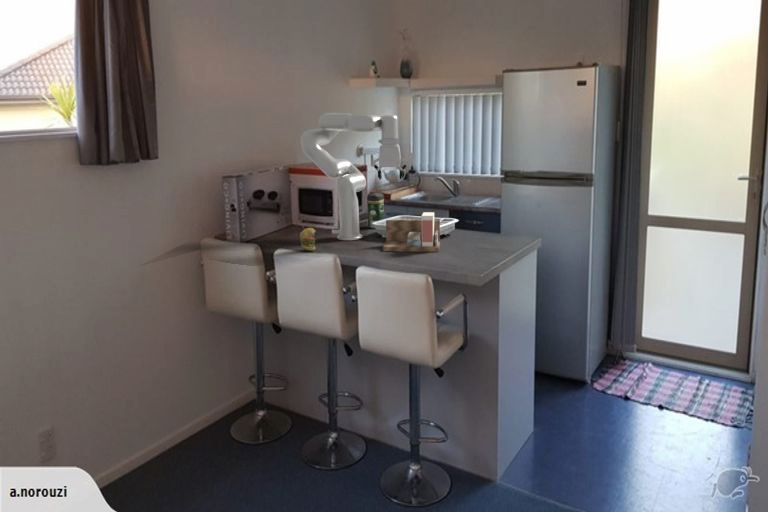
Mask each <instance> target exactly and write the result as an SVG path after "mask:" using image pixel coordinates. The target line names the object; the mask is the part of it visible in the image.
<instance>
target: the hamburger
mask: <svg viewBox="0 0 768 512" xmlns="http://www.w3.org/2000/svg"><path fill="white" fill-rule="evenodd" d="M302 227H303V230H302V231H301V232H300V233H299V239H300V244H301V247H302V248H303V249H305V251H310V252H314V251H316V246H315V245H316V244H315V243H316V242H315V241H316V238H315V233H316V229H314V227H313V228H312V227H307V228H304V225H302Z"/></svg>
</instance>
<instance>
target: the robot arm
mask: <svg viewBox="0 0 768 512" xmlns="http://www.w3.org/2000/svg"><path fill="white" fill-rule="evenodd" d="M318 123H319V124H318V125H319V127H320V128H313V129H312V128H311V129H307V130H306V131H304V132H303V133H302V135H301V137H300V147H301V150H302V152H303V153H304V155H305V156H306V157H307V158H308V159H309V160H311V162H313V163H314V164H315V166H316V167H317V168H319V170H321V172H322V173H324V175H325V176H327V177H328V178H329V179H331V180H336V179H337V181H336V184H335V185H336V192H337V195H338V196H337V197H338V209H339V211H338V213H339V229H331V234H332V235H337V236H336V238H337V240H340V241H356V240H357V241H359V240H362V239H363V238H364V237H363V234H361V233H360V217H359V215H360V213H359V212H360V211H359V199H358V196H357V193H358V192H361V191H363V190H364V189H365V188H366V186H367V180H366V179H367V178H366V177H365V175H364V174H363V173H362V172H361V171H360V169H358V168H357V167H356V166H355V165H354V164H353V163H352V162H350V160H348V159H346V158H334V157H333V156H332V155H331V154H330V153H329V152H328V151H327V150H325V149H324V148H322V146H323V147H324V146H327V145H328V144H330V143H331V142H332V141H333V140H334V138H335V137H336V136H337V135H338V134H339V133H340V132H350V133H351V132H355V133H356V132H357V133H358V132H359V133H369V132H370V133H371V132H380V131H381V139H378V143H379V144H381V145H379V152H378V158H376V159H374V160H372V161H371V165H372V166H373V168H374V169H375V170H376V171H377V178H378V180H381V179H382V178H383V177H382V169H383V168H398V169H399V180H402V178H404V170H405V169H406V168H407V167H408V164H409V162H410V161H409V160H407V159H405V158H403V157H402V154H401V149H400V147H401V146H400V145H399V133H398V131H399V130H398V129H399V128H398V127H399V126H398V124H399V123H398V116H397V115H395V114H392V115H391V114H387V115H386V114H385V115H382V114H370V115H369V114H367V115H366V114H365V115H362V114H359V115H357V114H356V115H354V114H352V113H345V112H342V113H339V112H327V113H323V114H322V115H321V116H320V117H319V120H318ZM377 162H378V165H379V166H378V165H377V164H376V163H377ZM402 162H403V163H404V165H403V166H402Z"/></svg>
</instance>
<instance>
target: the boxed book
mask: <svg viewBox="0 0 768 512" xmlns="http://www.w3.org/2000/svg"><path fill="white" fill-rule="evenodd" d="M421 217H422V246H430V247H433V245H434V217H435V212H434V211H433V212H431V211H429V212H428V211H427V212H425V211H423V213H422V214H421Z"/></svg>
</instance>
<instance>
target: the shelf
mask: <svg viewBox="0 0 768 512" xmlns="http://www.w3.org/2000/svg"><path fill="white" fill-rule="evenodd" d="M385 238H386V240H385V243H384V244H383V246H382V251H383V252H421V253H422V252H425V253H426V252H427V253H430V252H431V253H432V252H433V253H434V252H439V249H440V246H441V235H440V220H434V245H433V247H430V246H422V220H386V237H385Z"/></svg>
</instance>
